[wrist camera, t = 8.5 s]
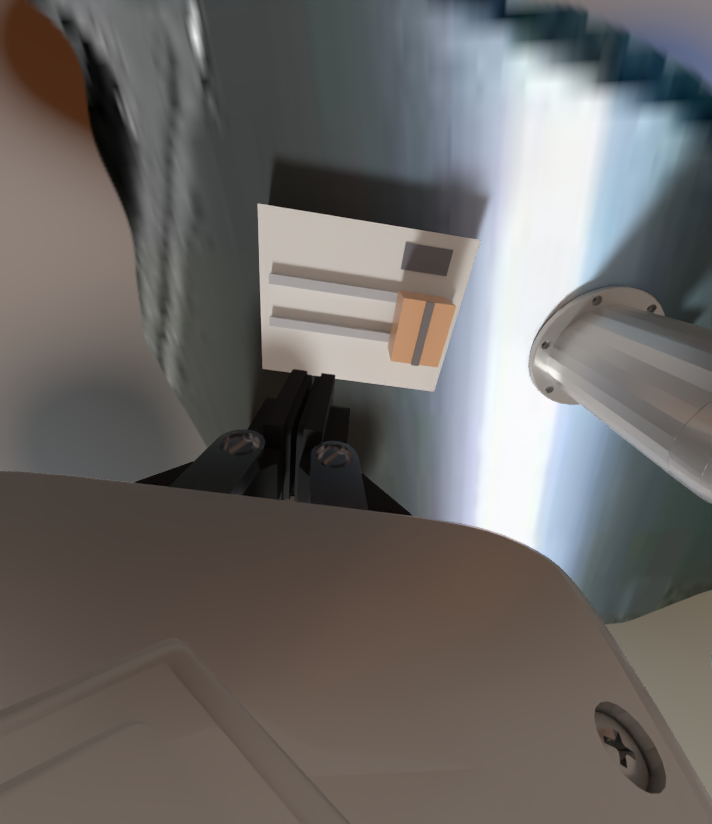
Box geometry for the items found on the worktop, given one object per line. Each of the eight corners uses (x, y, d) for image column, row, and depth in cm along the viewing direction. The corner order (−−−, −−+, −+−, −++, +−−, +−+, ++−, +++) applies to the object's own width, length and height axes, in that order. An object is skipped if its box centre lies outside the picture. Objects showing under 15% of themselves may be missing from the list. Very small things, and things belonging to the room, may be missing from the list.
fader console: (469, 239, 27) (484, 240, 23) (428, 379, 34) (435, 395, 31) (268, 206, 26) (254, 202, 22) (270, 358, 33) (260, 372, 30)
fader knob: (441, 294, 26) (457, 306, 22) (427, 348, 29) (438, 368, 24) (397, 287, 26) (404, 298, 22) (386, 343, 28) (391, 362, 24)
